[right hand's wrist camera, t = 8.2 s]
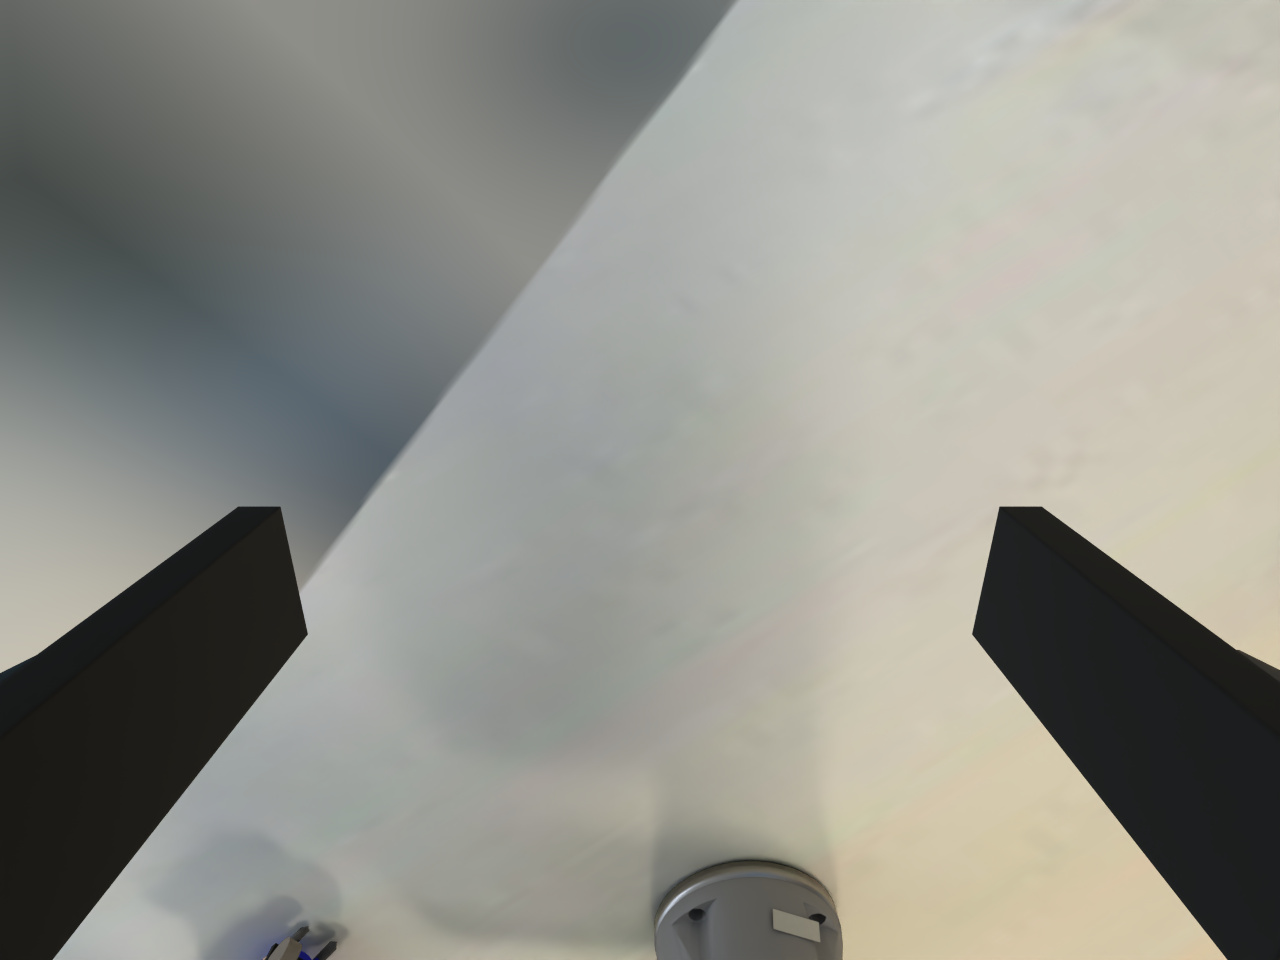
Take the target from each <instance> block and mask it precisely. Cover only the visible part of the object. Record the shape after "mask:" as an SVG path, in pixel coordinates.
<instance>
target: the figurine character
mask: <svg viewBox="0 0 1280 960" xmlns="http://www.w3.org/2000/svg"><path fill="white" fill-rule="evenodd" d="M308 931H309V929H308V926H307V927H302V928H300V929H299V930H298V931H297V932H296V933H295V934H294V935H293V936H292V938H290V937H287V938H286V939H284V940H283V941H282V942H281V943H280V944H279V945H278V944H277V943H275V944H274V945H273V946H272V947H271V949H270V951H269V953H268V955H267V956H266V957H264V959H262V960H311V958H310V957H309V956H308V955H307V954H306V953H304V952H303V951H301V949H302V944H300V943H298V942H299V941H300V940H301V939H302V938H303V936H304V935H305V934H306V933H307V932H308ZM336 943H337V942H329V944H328V945H327V946H326V947H325V948H324V949H323V950H322V951H321V952H320V953H319V954H318V955H317V956H316V957H315V958H314V959H313V960H326V959H327V958H328V957H329V956H330V955H331V954H332V953H333V952H334V951H335V950H336Z"/></svg>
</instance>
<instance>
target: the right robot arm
mask: <svg viewBox="0 0 1280 960" xmlns="http://www.w3.org/2000/svg"><path fill="white" fill-rule="evenodd" d="M307 635H308V633H307V628H306V624H305V619H304V614H303V610H302V605H301V600H300V596H299V591H298V586H297V582H296V577H295V572H294V568H293V563H292V559H291V554H290V549H289V544H288V540H287V535H286V531H285V526H284V521H283V517H282V512H281V507H237V508H236V509H235V510H233V511H232V512H231V513H229V514H228V515H226V516H225V517H224V518H222V519H221V520H220V521H218V522H217V523H216V524H214V525H213V526H211V527H210V528H209V529H208V530H206V531H205V532H203V533H202V534H201V535H199V536H198V537H197V538H195V539H194V540H192V541H191V542H190V543H188V544H187V545H186V546H184V547H183V548H182V549H180V550H179V551H178V552H176V553H175V554H173V555H172V556H171V557H169V558H168V559H167V560H165V561H164V562H163V563H161V564H160V565H158V566H157V567H156V568H154V569H153V570H152V571H150V572H149V573H148V574H146V575H145V576H144V577H142V578H141V579H139V580H138V581H137V582H135V583H134V584H133V585H131V586H130V587H129V588H127V589H126V590H125V591H123V592H122V593H120V594H119V595H118V596H117V597H115V598H114V599H112V600H111V601H110V602H108V603H107V604H106V605H104V606H103V607H101V608H100V609H99V610H97V611H96V612H95V613H93V614H92V615H91V616H89V617H88V618H87V619H85V620H84V621H83V622H81V623H80V624H78V625H77V626H76V627H74V628H73V629H72V630H70V631H69V632H67V633H66V634H65V635H63V636H62V637H61V638H59V639H58V640H57V641H55V642H54V643H53V644H51V645H50V646H48V647H47V648H46V649H44V650H43V651H42V652H40V653H39V654H38V655H36V656H34V657H32V658H30V659H28V660H26V661H24V662H22V663H20V664H18V665H16V666H14V667H12V668H10V669H8V670H6V671H4V672H2V673H0V960H53V958H54V957H55V956H56V955H57V953H58V952H59V951H60V949H61V948H62V947H63V946H64V944H65V943H66V942H67V941H68V939H69V938H70V937H71V935H72V934H73V933H74V932H75V930H76V929H77V928H78V927H79V925H80V924H81V923H82V921H83V920H84V919H85V918H86V916H87V915H88V914H89V912H90V911H91V910H92V909H93V907H94V906H95V905H96V904H97V902H98V901H99V900H100V898H101V897H102V896H103V895H104V893H105V892H106V891H107V890H108V888H109V887H110V886H111V884H112V883H113V882H114V881H115V879H116V878H117V877H118V876H119V874H120V873H121V872H122V870H123V869H124V868H125V867H126V865H127V864H128V863H129V862H130V860H131V859H132V858H133V856H134V855H135V854H136V853H137V851H138V850H139V849H140V848H141V846H142V845H143V844H144V842H145V841H146V840H147V839H148V837H149V836H150V835H151V833H152V832H153V831H154V830H155V828H156V827H157V826H158V825H159V823H160V822H161V821H162V819H163V818H164V817H165V816H166V814H167V813H168V812H169V811H170V809H171V808H172V807H173V805H174V804H175V803H176V802H177V800H178V799H179V798H180V797H181V795H182V794H183V793H184V791H185V790H186V789H187V788H188V786H189V785H190V784H191V783H192V781H193V780H194V779H195V777H196V776H197V775H198V774H199V772H200V771H201V770H202V768H203V767H204V766H205V765H206V763H207V762H208V761H209V760H210V758H211V757H212V756H213V754H214V753H215V752H216V751H217V749H218V748H219V747H220V746H221V744H222V743H223V742H224V740H225V739H226V738H227V737H228V735H229V734H230V733H231V732H232V730H233V729H234V728H235V726H236V725H237V724H238V723H239V721H240V720H241V719H242V718H243V716H244V715H245V714H246V712H247V711H248V710H249V709H250V707H251V706H252V705H253V704H254V702H255V701H256V700H257V698H258V697H259V696H260V695H261V693H262V692H263V691H264V689H265V688H266V687H267V686H268V684H269V683H270V682H271V681H272V679H273V678H274V677H275V675H276V674H277V673H278V672H279V670H280V669H281V668H282V667H283V665H284V664H285V663H286V661H287V660H288V659H289V658H290V656H291V655H292V654H293V653H294V651H295V650H296V649H297V647H298V646H299V645H300V644H301V642H302V641H303V640H304V639H305V637H306V636H307ZM972 635H973V636H974V637H975V639H976V640H977V641H978V642H979V644H980V645H981V646H982V647H983V649H984V650H985V651H986V653H987V654H988V655H989V656H990V658H991V659H992V660H993V661H994V663H995V664H996V665H997V667H998V668H999V669H1000V670H1001V672H1002V673H1003V674H1004V675H1005V677H1006V678H1007V679H1008V681H1009V682H1010V683H1011V684H1012V686H1013V687H1014V688H1015V689H1016V691H1017V692H1018V693H1019V695H1020V696H1021V697H1022V698H1023V700H1024V701H1025V702H1026V704H1027V705H1028V706H1029V707H1030V709H1031V710H1032V711H1033V712H1034V714H1035V715H1036V716H1037V718H1038V719H1039V720H1040V721H1041V723H1042V724H1043V725H1044V726H1045V728H1046V729H1047V730H1048V732H1049V733H1050V734H1051V735H1052V737H1053V738H1054V739H1055V740H1056V742H1057V743H1058V744H1059V746H1060V747H1061V748H1062V749H1063V751H1064V752H1065V753H1066V754H1067V756H1068V757H1069V758H1070V760H1071V761H1072V762H1073V763H1074V765H1075V766H1076V767H1077V768H1078V770H1079V771H1080V772H1081V774H1082V775H1083V776H1084V777H1085V779H1086V780H1087V781H1088V783H1089V784H1090V785H1091V786H1092V788H1093V789H1094V790H1095V791H1096V793H1097V794H1098V795H1099V797H1100V798H1101V799H1102V800H1103V802H1104V803H1105V804H1106V805H1107V807H1108V808H1109V809H1110V811H1111V812H1112V813H1113V814H1114V816H1115V817H1116V818H1117V819H1118V821H1119V822H1120V823H1121V825H1122V826H1123V827H1124V828H1125V830H1126V831H1127V832H1128V833H1129V835H1130V836H1131V837H1132V839H1133V840H1134V841H1135V842H1136V844H1137V845H1138V846H1139V848H1140V849H1141V850H1142V851H1143V853H1144V854H1145V855H1146V856H1147V858H1148V859H1149V860H1150V862H1151V863H1152V864H1153V865H1154V867H1155V868H1156V869H1157V870H1158V872H1159V873H1160V874H1161V876H1162V877H1163V878H1164V879H1165V881H1166V882H1167V883H1168V884H1169V886H1170V887H1171V888H1172V890H1173V891H1174V892H1175V893H1176V895H1177V896H1178V897H1179V898H1180V900H1181V901H1182V902H1183V904H1184V905H1185V906H1186V907H1187V909H1188V910H1189V911H1190V912H1191V914H1192V915H1193V916H1194V918H1195V919H1196V920H1197V921H1198V923H1199V924H1200V925H1201V927H1202V928H1203V929H1204V930H1205V932H1206V933H1207V934H1208V935H1209V937H1210V938H1211V939H1212V941H1213V942H1214V943H1215V944H1216V946H1217V947H1218V948H1219V949H1220V951H1221V952H1222V953H1223V955H1224V956H1225V957H1226V958H1227V960H1280V670H1278V669H1276V668H1274V667H1272V666H1270V665H1268V664H1266V663H1264V662H1262V661H1260V660H1258V659H1256V658H1254V657H1252V656H1250V655H1248V654H1246V653H1244V652H1242V651H1240V650H1236V649H1234V648H1233V647H1232V646H1230V645H1229V644H1227V643H1226V642H1225V641H1223V640H1222V639H1221V638H1219V637H1218V636H1217V635H1215V634H1214V633H1213V632H1211V631H1210V630H1208V629H1207V628H1206V627H1204V626H1203V625H1202V624H1200V623H1199V622H1198V621H1196V620H1195V619H1193V618H1192V617H1191V616H1189V615H1188V614H1187V613H1185V612H1184V611H1183V610H1181V609H1180V608H1179V607H1177V606H1176V605H1174V604H1173V603H1172V602H1170V601H1169V600H1168V599H1166V598H1165V597H1164V596H1162V595H1161V594H1160V593H1158V592H1157V591H1155V590H1154V589H1153V588H1151V587H1150V586H1149V585H1147V584H1146V583H1145V582H1143V581H1142V580H1141V579H1139V578H1138V577H1136V576H1135V575H1134V574H1132V573H1131V572H1130V571H1128V570H1127V569H1126V568H1124V567H1123V566H1122V565H1120V564H1119V563H1117V562H1116V561H1115V560H1113V559H1112V558H1111V557H1109V556H1108V555H1107V554H1105V553H1104V552H1102V551H1101V550H1100V549H1098V548H1097V547H1096V546H1094V545H1093V544H1092V543H1090V542H1089V541H1088V540H1086V539H1085V538H1083V537H1082V536H1081V535H1079V534H1078V533H1077V532H1075V531H1074V530H1073V529H1071V528H1070V527H1069V526H1067V525H1066V524H1064V523H1063V522H1062V521H1060V520H1059V519H1058V518H1056V517H1055V516H1054V515H1052V514H1051V513H1050V512H1048V511H1047V510H1045V509H1044V508H1043V507H999V512H998V517H997V521H996V526H995V531H994V535H993V540H992V544H991V549H990V554H989V558H988V563H987V568H986V572H985V577H984V582H983V586H982V591H981V596H980V600H979V605H978V610H977V614H976V619H975V624H974V628H973V633H972ZM654 932H655V951H656V956H657V960H842V955H843V941H842V932H841V926H840V922H839V919H838V915H837V911H836V908H835V905H834V903H833V900H832V898H831V897H830V895H829V894H828V892H827V891H826V890H825V889H824V888H823V887H822V886H821V885H820V884H819V883H818V882H817V881H815V880H814V879H813V878H811V877H810V876H808V875H806V874H804V873H802V872H801V871H798V870H796V869H793V868H791V867H787V866H784V865H780V864H776V863H769V862H759V861H743V862H733V863H727V864H722V865H718V866H714V867H711V868H708V869H705V870H702V871H700V872H698V873H696V874H694V875H692V876H690V877H688V878H687V879H685V880H684V881H682V882H681V883H679V884H678V885H677V886H676V887H674V888H673V889H672V890H671V891H670V892H669V893H668V895H667V896H666V897H665V898H664V900H663V901H662V903H661V905H660V907H659V909H658V911H657V914H656V918H655V927H654Z"/></svg>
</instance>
